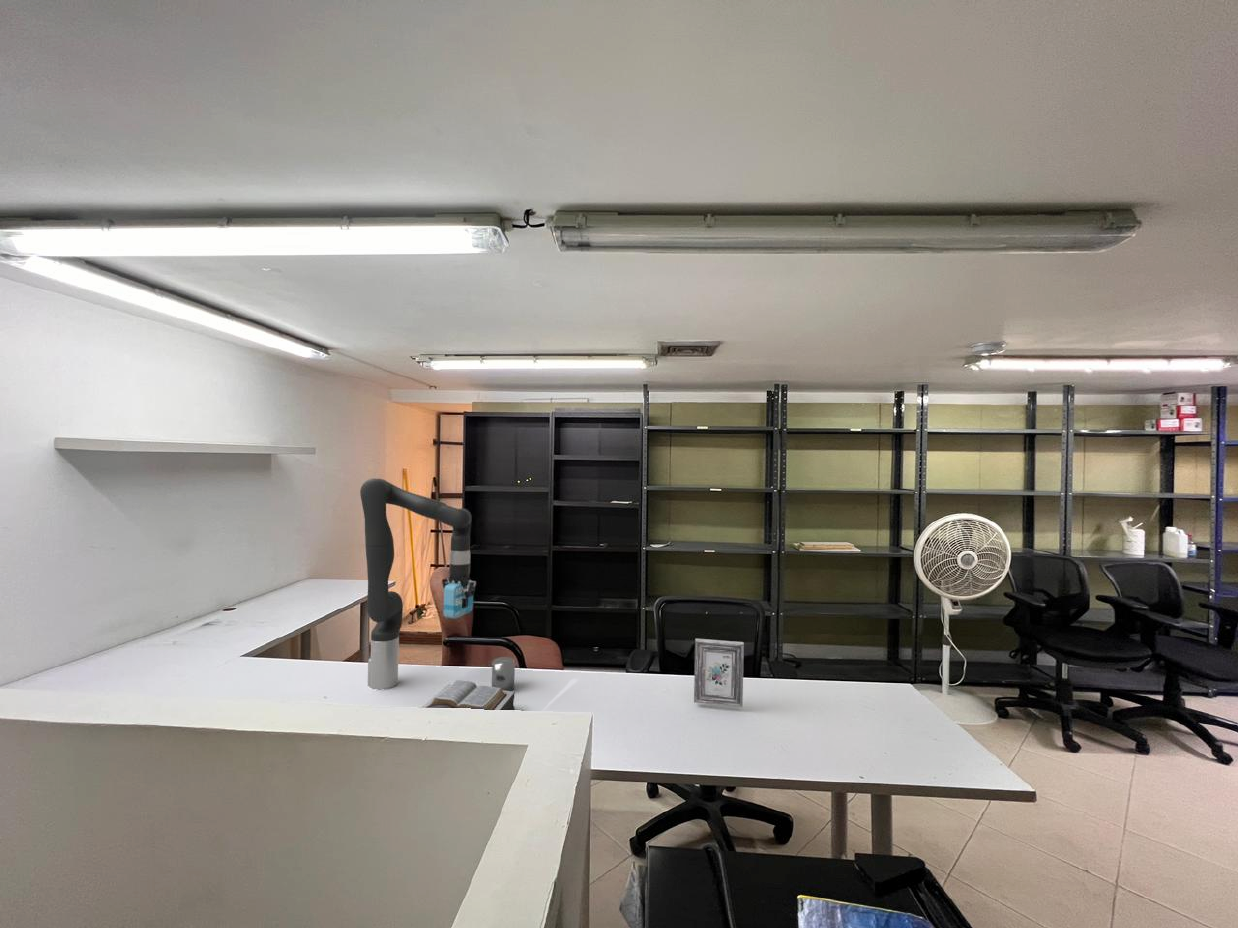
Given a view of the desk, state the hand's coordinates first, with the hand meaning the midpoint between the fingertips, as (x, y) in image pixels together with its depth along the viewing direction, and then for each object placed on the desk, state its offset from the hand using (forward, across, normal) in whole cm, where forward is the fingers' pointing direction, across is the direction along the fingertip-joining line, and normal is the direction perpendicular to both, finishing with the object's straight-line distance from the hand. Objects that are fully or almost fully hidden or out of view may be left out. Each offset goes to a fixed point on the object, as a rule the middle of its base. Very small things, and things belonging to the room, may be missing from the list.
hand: (458, 606), depth 184 cm
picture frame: (+27, +96, +14) cm, 100 cm away
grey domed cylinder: (+27, +20, -1) cm, 34 cm away
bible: (+28, +21, -24) cm, 42 cm away
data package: (+3, 0, 0) cm, 3 cm away
